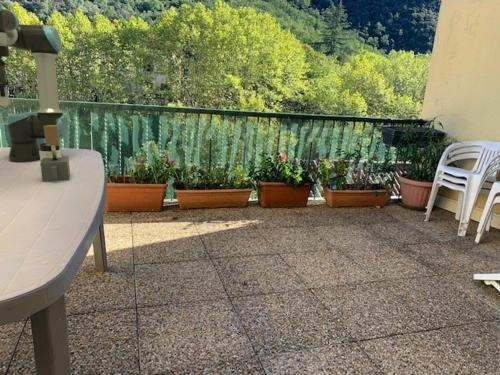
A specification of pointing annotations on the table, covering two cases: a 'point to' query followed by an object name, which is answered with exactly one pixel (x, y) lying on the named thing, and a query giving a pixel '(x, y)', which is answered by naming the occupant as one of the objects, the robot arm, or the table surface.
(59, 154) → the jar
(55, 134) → the plunger
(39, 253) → the table surface
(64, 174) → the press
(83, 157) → the table surface
